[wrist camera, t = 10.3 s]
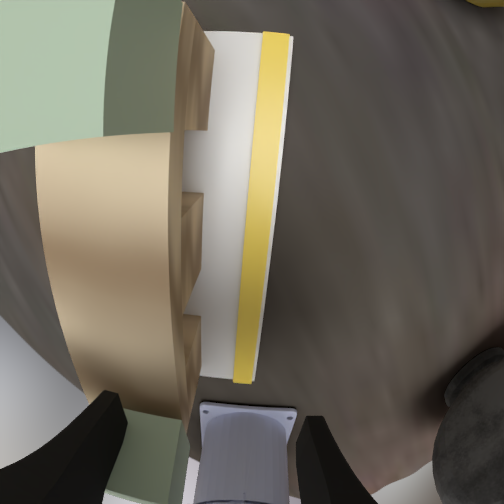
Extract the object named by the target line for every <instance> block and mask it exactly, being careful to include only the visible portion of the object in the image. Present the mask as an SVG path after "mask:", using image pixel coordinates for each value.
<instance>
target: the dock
mask: <svg viewBox="0 0 504 504" xmlns="http://www.w3.org/2000/svg"><path fill="white" fill-rule="evenodd" d="M204 33H205V35H206V36H207V38H208V40H209V41H210V43H211V45H212V46H213V48H214V50H215V54H214V64H213V74H212V84H211V95H210V106H209V118H208V131H201V130H185V132H184V149H183V169H182V192H197V193H204V200H203V225H202V262H201V271H200V273H199V276H198V278H197V281H196V283H195V286H194V288H193V290H192V293H191V295H190V298H189V300H188V303H187V306H186V308H185V311H184V313H183V314H188V315H197V316H201V359H202V367H201V371H200V376H208V377H216V378H225V379H233V383H245V384H251V382H252V381H255V374H256V366H257V359H258V352H259V345H260V337H261V330H262V322H263V314H264V307H265V299H266V291H267V283H268V275H269V267H270V259H271V250H272V242H273V234H274V225H275V216H276V208H277V199H278V190H279V181H280V172H281V162H282V153H283V143H284V133H285V123H286V113H287V103H288V92H289V82H290V71H291V59H292V48H293V36H290V34H284V33H275V32H264V31H263V33H251V32H228V31H204Z"/></svg>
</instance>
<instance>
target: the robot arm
mask: <svg viewBox="0 0 504 504" xmlns="http://www.w3.org/2000/svg"><path fill="white" fill-rule="evenodd" d="M296 416H297V410H296V409H294V408H272V407H255V406H242V405H231V404H221V403H212V402H202V403H201V404H200V422H201V438H202V453H201V459H200V465H199V472H198V477H197V484H196V490H195V496H194V503H193V504H289V483H288V463H287V442H288V439H289V437H290V434H291V431H292V428H293V425H294V422H295V419H296ZM127 425H128V421H127V418H126V415H125V412H124V409H123V406H122V403H121V400H120V397H119V394H118V393H115V392H111V391H108V390H104V391H102V392H101V393H100V394H99V395H98V396H97V397H96V399H95V400H94V401H93V402H92V403H91V404H90V405H89V406H88V407H87V408H86V409H85V410H84V411H83V412H82V413H81V414H80V415H79V416H78V417H76V418H75V419H74V420H73V421H72V422H71V423H70V424H69V425H68V426H67V427H66V428H65V429H64V430H62V431H61V432H60V433H59V434H58V435H56V436H55V437H54V438H53V439H52V440H50V441H49V442H48V443H46V444H45V445H43V446H42V447H41V448H39V449H38V450H36V451H35V452H33V453H31V454H30V455H28V456H26V457H25V458H23V459H21V460H19V461H17V462H15V463H13V464H11V465H9V466H6V467H4V468H2V469H0V504H102V501H103V496H104V492H105V489H106V486H107V483H108V480H109V478H110V475H111V472H112V470H113V467H114V465H115V462H116V460H117V457H118V455H119V452H120V449H121V447H122V444H123V441H124V437H125V433H126V429H127ZM296 468H297V476H298V483H299V491H300V498H301V504H378V503H377V502H376V501H375V500H374V499H373V497H372V496H371V495H370V494H369V493H368V491H367V490H366V489H365V488H364V486H363V485H362V484H361V482H360V481H359V479H358V478H357V477H356V475H355V474H354V472H353V471H352V469H351V468H350V466H349V464H348V463H347V461H346V459H345V458H344V456H343V454H342V453H341V451H340V449H339V447H338V445H337V444H336V442H335V440H334V438H333V436H332V434H331V432H330V430H329V428H328V425H327V423H326V421H325V419H324V417H323V416H306V418H305V421H304V424H303V426H302V429H301V432H300V434H299V437H298V439H297V442H296Z"/></svg>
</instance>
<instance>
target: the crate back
mask: <svg viewBox="0 0 504 504" xmlns="http://www.w3.org/2000/svg"><path fill="white" fill-rule="evenodd" d="M123 409H124V408H123ZM124 412H125V415H126V418H127V421H128V425H127V429H126V433H125V437H124V441H123V444H122V447H121V449H120V452H119V455H118V457H117V460H116V462H115V465H114V467H113V470H112V472H111V475H110V478H109V480H108V483H107V486H106V489H105V492H104V493H107V494H110V495H113V496H116V497H119V498H123V499H126V500H130V501H133V502H137V503H141V504H182V499H183V492H184V485H185V477H186V471H187V464H188V458H189V451H190V444H189V441H188V438H187V435H186V432H185V429H184V426H183V423H182V420H178V419H172V418H166V417H161V416H156V415H151V414H146V413H142V412H137V411H133V410H129V409H124Z"/></svg>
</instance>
